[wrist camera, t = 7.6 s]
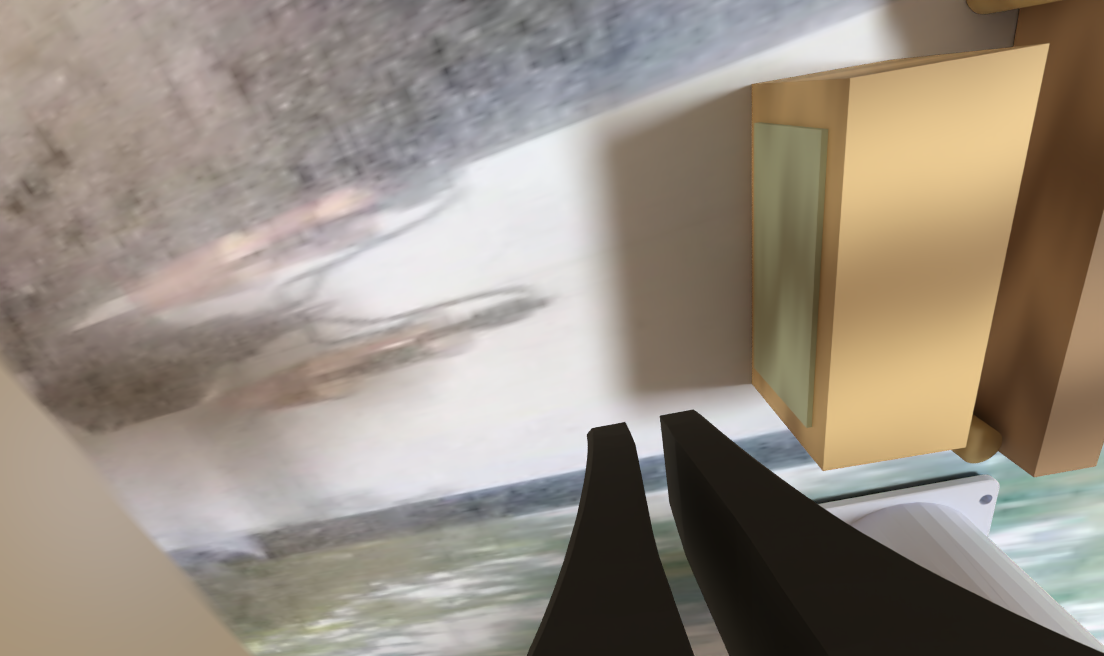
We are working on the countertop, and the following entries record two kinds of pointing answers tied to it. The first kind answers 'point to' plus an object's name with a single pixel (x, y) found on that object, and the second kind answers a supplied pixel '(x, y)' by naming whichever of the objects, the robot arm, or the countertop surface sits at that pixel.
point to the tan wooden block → (884, 244)
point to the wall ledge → (1051, 260)
